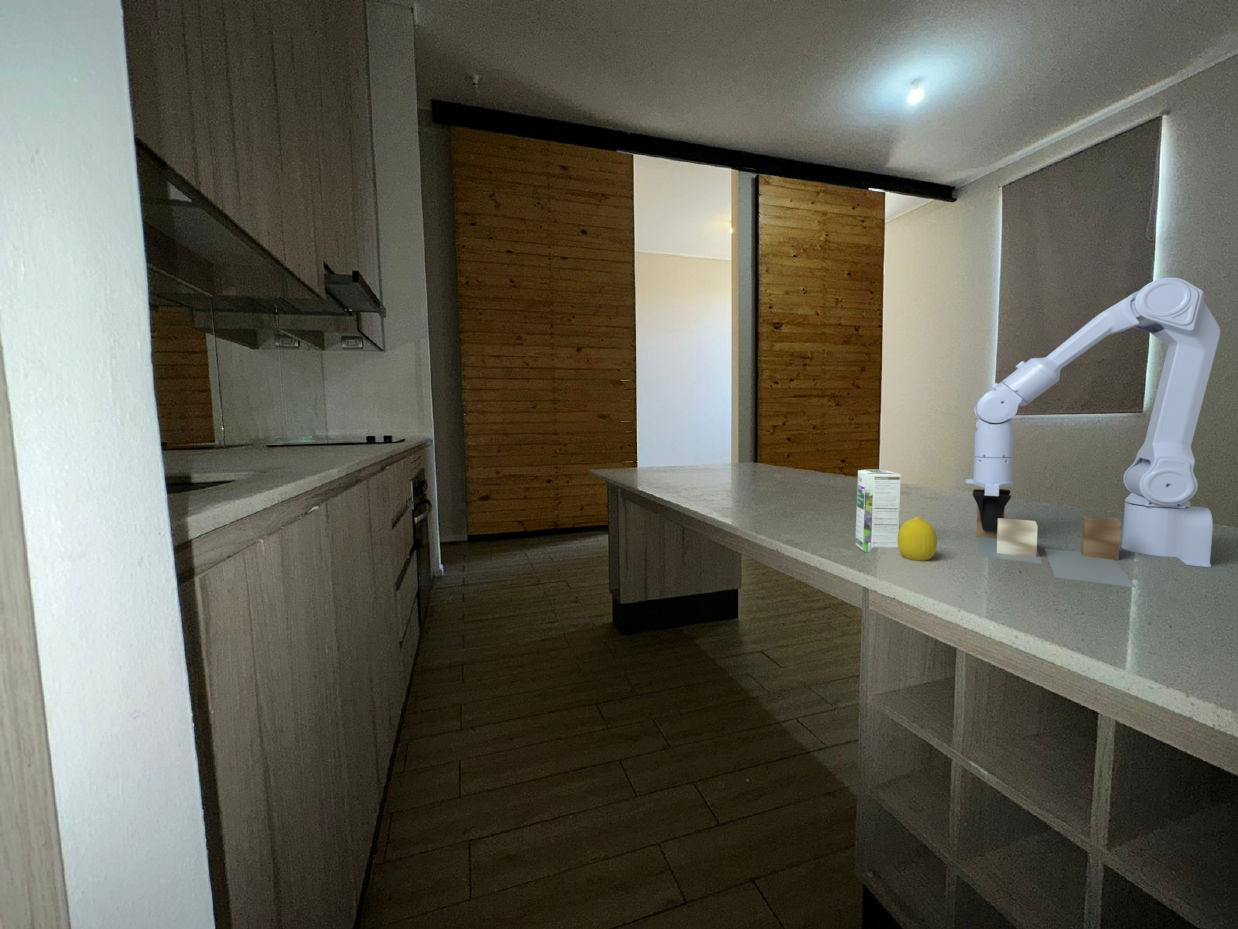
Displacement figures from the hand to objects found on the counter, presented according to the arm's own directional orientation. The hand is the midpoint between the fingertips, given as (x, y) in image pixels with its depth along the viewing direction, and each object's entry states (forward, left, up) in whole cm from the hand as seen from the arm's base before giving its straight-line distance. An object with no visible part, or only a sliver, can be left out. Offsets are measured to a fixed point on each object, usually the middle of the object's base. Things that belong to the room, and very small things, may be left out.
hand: (989, 528), depth 93 cm
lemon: (+10, +23, -3) cm, 25 cm away
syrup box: (+17, +16, -3) cm, 23 cm away
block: (-3, +11, -1) cm, 11 cm away
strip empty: (-11, +15, -2) cm, 19 cm away
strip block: (-2, +8, -2) cm, 8 cm away
